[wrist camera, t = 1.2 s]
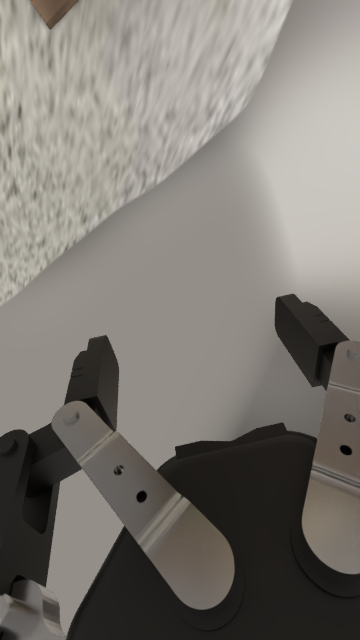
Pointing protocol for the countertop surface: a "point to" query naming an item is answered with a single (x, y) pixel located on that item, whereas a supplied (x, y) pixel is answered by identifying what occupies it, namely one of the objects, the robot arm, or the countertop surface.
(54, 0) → the stand
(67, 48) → the countertop surface
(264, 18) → the countertop surface
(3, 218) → the countertop surface
